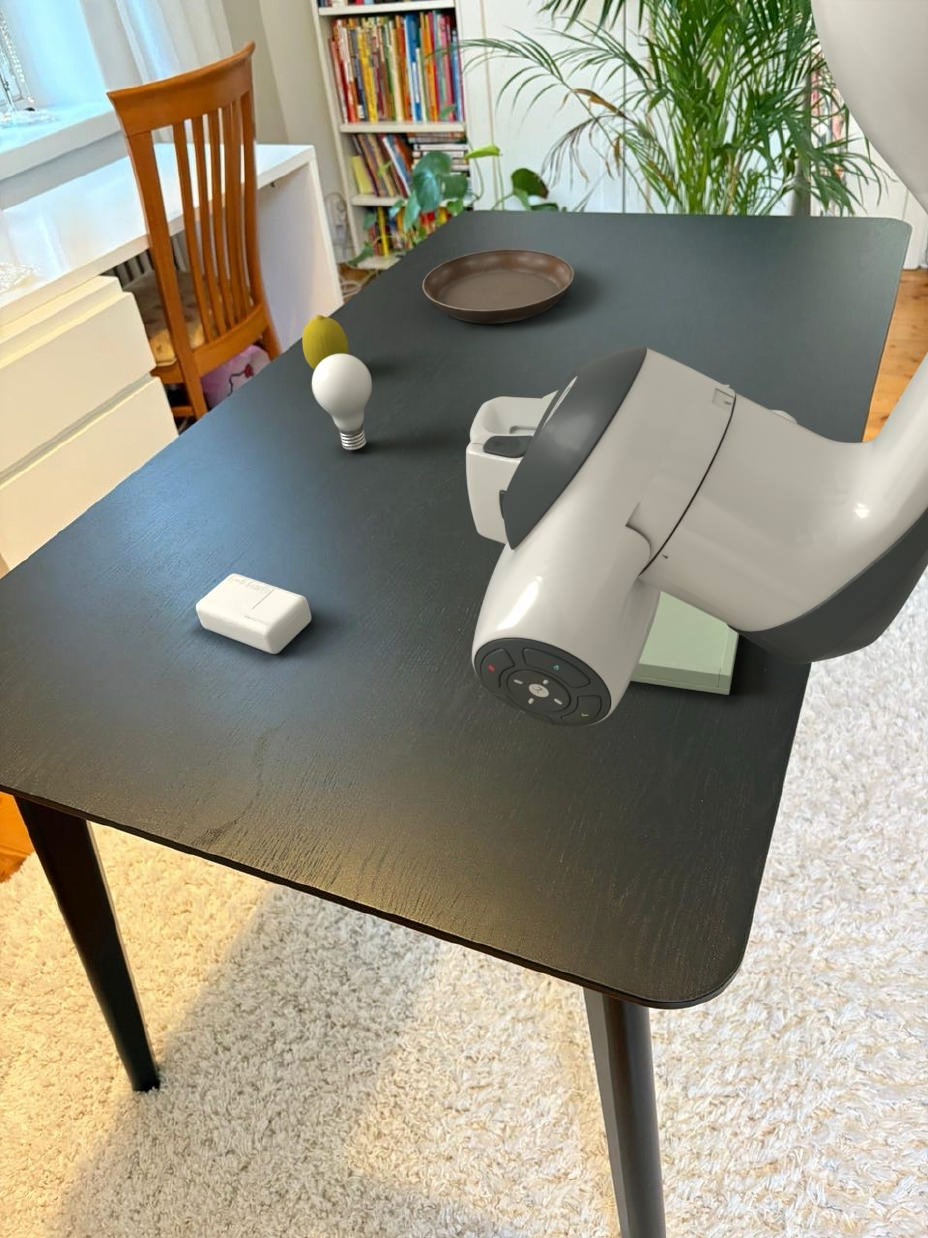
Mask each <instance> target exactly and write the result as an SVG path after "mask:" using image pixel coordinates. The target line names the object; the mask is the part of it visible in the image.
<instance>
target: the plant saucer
mask: <svg viewBox="0 0 928 1238" xmlns="http://www.w3.org/2000/svg"><path fill="white" fill-rule="evenodd" d="M572 266H573V265H571V264H570V263H569V262H568V261H567V260H566V259H564V258H562V257H560V256H557V255H555V254H552V253H549V252H545V251H540V250H534V249H524V248H523V249H521V248H504V249H503V248H501V249H490V250H484V251H478V252H472V253H469V254H468V253H467V254H464V255H461V256H458V257H455V258H452V259H450V260H448V261H445V262H443V263H441V264H439V265H438V266H436V267H434V268H433V269H432V270H430V272H428V273H427V274H426V276H425V277H424V279H423V281H422V290H423V292H424V295H425V296H426V297H427V299H429V301H430V302H431V303H432V304H434V306H435V307H436V308H438V309H439V310H440V311H441V312H442V313H444V314H446V315H447V316H450V317H451V318H454V319H457V320H460V321H463V322H467V323H473V324H485V325H487V324H490V325H491V324H506V323H512V322H518V321H522V320H525V319H530V318H531V317H532V318H533V317H535V316H538V315H539V314H541V313H544V312H545V311H547V310H549V309H550V308H552V307H553V306H554V305H555V304H557V303H558V302H559V301H560V300H561V299H562V297H564V295H565V294H566V292H567V291H568V290H569V287H570V286H571V285H572V283H573V282H574V281H573V280H574V278H575V271H574V268H573V267H572Z"/></svg>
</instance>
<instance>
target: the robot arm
mask: <svg viewBox="0 0 928 1238" xmlns="http://www.w3.org/2000/svg"><path fill="white" fill-rule="evenodd" d="M810 6H811V7H810V9H811V13H812V17H813V21H814V27H815V32H816V36H817V39H818V42H819V45H820V48H821V52H822V55H823V58H824V60H825V62H826V66H827V68H828V70H829V73H830V75H831V77H832V80H833V83H834V84H835V86H836V88H837V91H838V92H839V94H840V96H841V98H842V100H843V103H844V105H845V106H846V108H847V109H848V112H849V113H850V115H851V117H852V118H853V119H854V121H855V123H856V124H857V126H858V127H859V129H860V131H861V132H862V134H863V135H864V137H865V138H866V139H867V141H868V142H869V143H870V145H871V146H872V148H873V149H874V150H875V151H876V152H877V153H878V155H879V156H880V157H881V158H882V160H883V161H884V162H885V163H886V164H887V166H888V167H889V168H890V170H892V171H893V173H894V174H895V175H896V176H897V178H898V179H899V180H900V181H901V183H902V184H903V185H904V186H905V187H906V189H907V190H908V191H909V192H910V194H911V196H913V198H914V199H915V200H916V201H917V203H918V204H919V205H920V206H921V208H922V209H923V211H924V212H925V214H926V215H928V0H810ZM730 387H731V385H730V384H723V383H721V382H719V381H717V380H715V379H714V378H711V377H709V376H707V375H705V374H703V373H702V372H700V371H697V370H696V369H694V368H693V367H692V368H691V367H690V366H688V365H686V364H683V363H681V362H679V361H677V360H675V359H673V358H672V357H668V356H667V355H665V354H662V353H660V352H658V351H655V350H654V349H651V348H648V347H647V346H646V345H636V346H630V347H626V348H622V349H618V350H615V351H612V352H610V353H608V354H605V355H603V356H601V357H598V358H596V359H594V360H591V361H589V362H588V363H586V364H584V365H582V366H580V367H578V368H576V369H574V370H573V371H572V372H571V373H570V374H569V375H568V376H567V377H566V379H565V380H564V381H563V383H562V385H560V386H559V388H558V390H555V391H553V392H551V393H549V394H547V395H545V396H543V397H542V398H541V397H539V398H537V397H520V396H519V397H517V396H505V395H503V396H498V397H495V398H492V399H489V400H487V401H485V402H484V403H482V404H481V406H480V407H479V409H478V410H477V413H476V415H475V417H474V419H473V421H472V424H471V427H470V431H469V441H470V442H469V444H468V445H467V446H466V450H465V472H466V486H467V495H468V499H469V506H470V510H471V514H472V518H473V522H474V526H475V528H476V532H477V533H478V535H480V536H481V537H483V538H486V539H489V540H492V541H495V542H497V543H500V544H504V547H503V550H502V552H501V553H500V555H499V558H498V560H497V562H496V565H495V567H494V569H493V572H492V574H491V578H490V580H489V582H488V584H487V588H486V591H485V594H484V597H483V601H482V604H481V607H480V611H479V615H478V619H477V623H476V627H475V630H474V635H473V636H474V637H473V640H472V641H473V642H472V647H471V664H472V668H473V670H474V673H475V674H476V676H477V678H478V680H479V681H480V683H481V684H482V686H483V687H484V688H485V689H486V690H487V691H488V692H489V693H491V694H492V695H493V697H495V698H496V699H497V700H499V701H501V702H502V703H503V704H506V705H508V706H509V707H510V708H513V709H514V710H516V711H518V712H520V713H522V714H524V715H527V716H529V717H531V718H533V719H535V720H538V721H541V722H543V723H546V724H549V725H553V726H555V725H556V726H561V727H570V728H578V727H586V726H592V725H595V724H599V723H600V722H602V721H604V720H606V719H607V718H609V717H610V715H611V714H612V713H613V712H614V711H615V709H616V708H617V706H618V705H619V703H620V702H621V700H622V698H623V697H624V695H625V693H626V690H627V689H628V687H629V685H630V683H631V681H630V680H631V678H632V676H633V674H634V672H635V670H636V668H637V665H638V663H639V661H640V658H641V656H642V653H643V651H644V648H645V646H646V643H647V640H648V638H649V635H650V632H651V629H652V626H653V623H654V619H655V616H656V613H657V608H658V605H659V601H660V595H661V591H663V592H665V593H667V594H669V595H671V596H673V597H675V598H677V599H679V600H681V601H683V602H685V603H686V604H688V605H690V606H692V607H694V608H696V609H698V610H700V611H702V612H704V613H706V614H708V615H710V616H712V617H714V618H716V619H718V620H720V621H722V622H724V623H726V624H727V625H728V627H729V628H731V629H732V630H734V631H735V632H737V633H739V636H740V635H741V636H742V637H743V638H745V639H747V640H748V641H750V642H751V643H753V644H755V645H756V646H758V647H760V648H761V649H763V650H765V651H766V652H768V653H769V654H771V655H773V656H775V657H776V658H777V659H779V660H781V661H782V662H783V663H785V664H788V665H795V666H796V665H804V664H812V663H817V662H821V661H827V660H831V659H836V658H839V657H843V656H846V655H848V654H849V655H850V654H853V653H854V652H857V651H860V650H862V649H865V648H867V647H869V646H870V645H872V644H874V643H875V642H876V641H877V640H878V639H879V638H881V636H882V635H883V634H884V633H885V632H886V630H887V629H888V628H889V627H890V625H892V623H893V622H894V621H895V619H896V618H897V616H898V615H899V614H900V612H901V611H902V609H903V607H904V606H905V605H906V602H907V601H908V600H909V598H910V596H911V595H912V593H913V591H914V589H915V588H916V586H917V585H918V583H919V581H920V580H921V578H922V576H923V574H924V572H925V571H926V569H927V568H928V351H927V353H926V354H925V356H924V358H922V361H921V362H920V364H919V366H918V367H917V369H916V371H915V372H914V374H913V375H912V377H911V379H910V381H909V382H908V384H907V385H906V387H905V389H904V391H903V392H902V394H901V396H900V397H899V399H898V400H897V402H896V404H895V405H894V407H893V409H892V411H891V412H890V413H889V415H888V417H887V419H886V420H885V422H884V424H883V425H882V426H881V429H880V430H879V432H878V433H877V435H876V436H875V437H874V438H872V439H870V440H867V441H861V442H843V441H837V440H834V439H830V438H827V437H824V436H821V435H820V434H818V433H816V432H814V431H812V430H810V429H808V428H806V427H804V426H802V425H800V424H798V421H797V420H796V418H794V417H793V416H791V415H790V414H789V413H788V412H785V411H784V410H780V409H779V410H778V409H768V408H767V407H765V406H763V405H761V404H759V403H757V402H755V401H753V400H752V399H749V398H747V397H745V396H743V395H741V394H739V393H737V392H736V391H735V389H733V388H732V387H731V388H730Z"/></svg>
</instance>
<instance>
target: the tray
mask: <svg viewBox="0 0 928 1238" xmlns="http://www.w3.org/2000/svg"><path fill="white" fill-rule="evenodd" d="M739 636H740V634H739V633H737V632H735V631H734V630H732V629H731V628H729V627H728V625H727V624H726V623H724V622H722V621H720V620H718V619H716V618H714V617H712V616H710V615H708V614H706V613H704V612H702V611H700V610H698V609H696V608H694V607H692V606H690V605H688V604H686V603H685V602H683V601H681V600H679V599H677V598H675V597H673V596H671V595H669V594H667V593H665V592H663V591H661V595H660V601H659V605H658V608H657V613H656V616H655V619H654V623H653V626H652V629H651V632H650V635H649V638H648V640H647V643H646V646H645V648H644V651H643V653H642V656H641V658H640V661H639V663H638V665H637V668H636V670H635V672H634V674H633V676H632V678H631V680H630V682H637V683H643V684H651V685H658V686H664V687H670V688H676V689H677V688H679V689H685V690H693V691H699V692H706V693H713V694H720V695H727V696H729V695H730V691H731V685H732V678H733V674H734V667H735V661H736V654H737V649H738V643H739Z"/></svg>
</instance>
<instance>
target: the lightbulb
mask: <svg viewBox="0 0 928 1238" xmlns="http://www.w3.org/2000/svg"><path fill="white" fill-rule="evenodd" d="M313 370H314V369H313ZM311 391H312V394H313V396H314V400H316V402H317V403H318V405H319V406H320V407H321V408H322V409H323V410H324V411H325V412H327V413H328V415H330V417H331V418H332V421H333V423H334V425H335V426H336V428H337V429H338V432H339V436H340V441H341V445H342V448H343V449H345V450H348V451H354V452H356V451H358V450H360V449H361V448H363V447H365V445H366V444H367V439H366V433H365V429H364V421H365V409H366V407H367V404H368V402H369V400H370V398H371V395H372V392H373V379H372V375H371V372H370V370H369V368H368V367H367V365H366V364H365V363H364V362H363V361H362V360H361V359H359V358H358V357H356V356H354V355H352V354H349V353H348V354H334V355H330V356H328V357H326V358H325V359H323V360H322V361H321V362H320V363H319V364H318V365H317V367H316V369H315V370H314V371H313V373H312V377H311Z"/></svg>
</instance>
